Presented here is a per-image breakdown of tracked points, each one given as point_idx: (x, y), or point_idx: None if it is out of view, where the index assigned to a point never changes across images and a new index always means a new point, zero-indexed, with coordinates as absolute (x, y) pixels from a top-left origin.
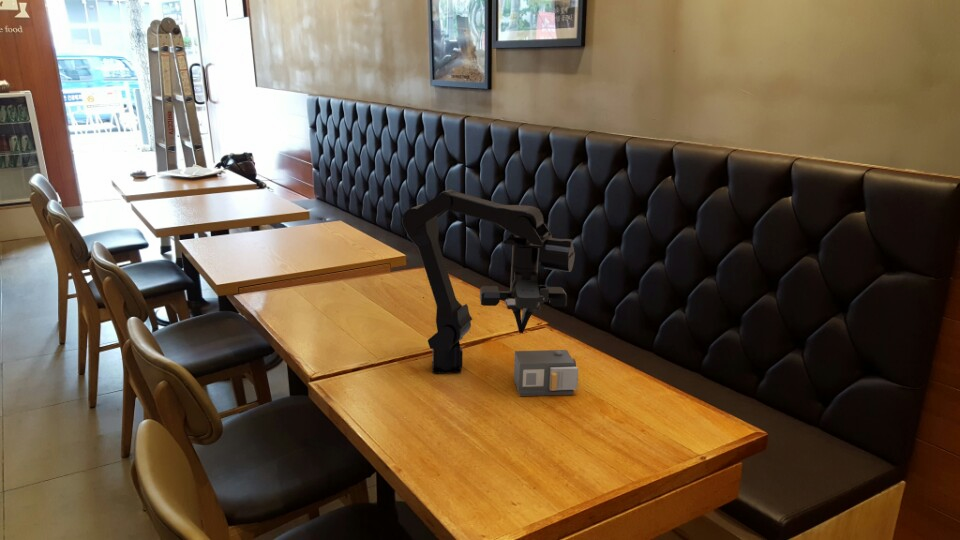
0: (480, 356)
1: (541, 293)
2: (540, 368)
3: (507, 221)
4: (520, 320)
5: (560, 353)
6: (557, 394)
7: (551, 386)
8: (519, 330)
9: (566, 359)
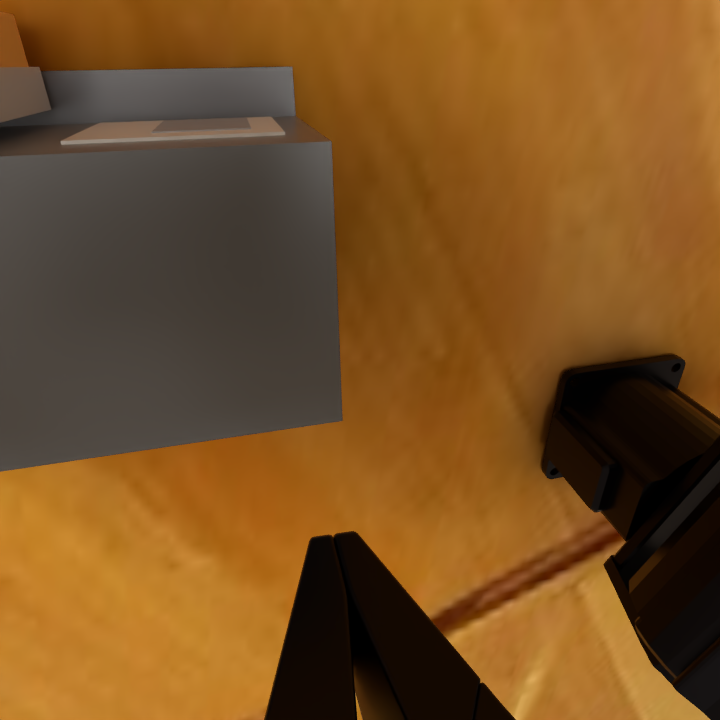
0: (435, 533)
1: None
2: (102, 144)
3: None
4: (412, 699)
5: None
6: None
7: (7, 29)
8: (366, 554)
9: None
